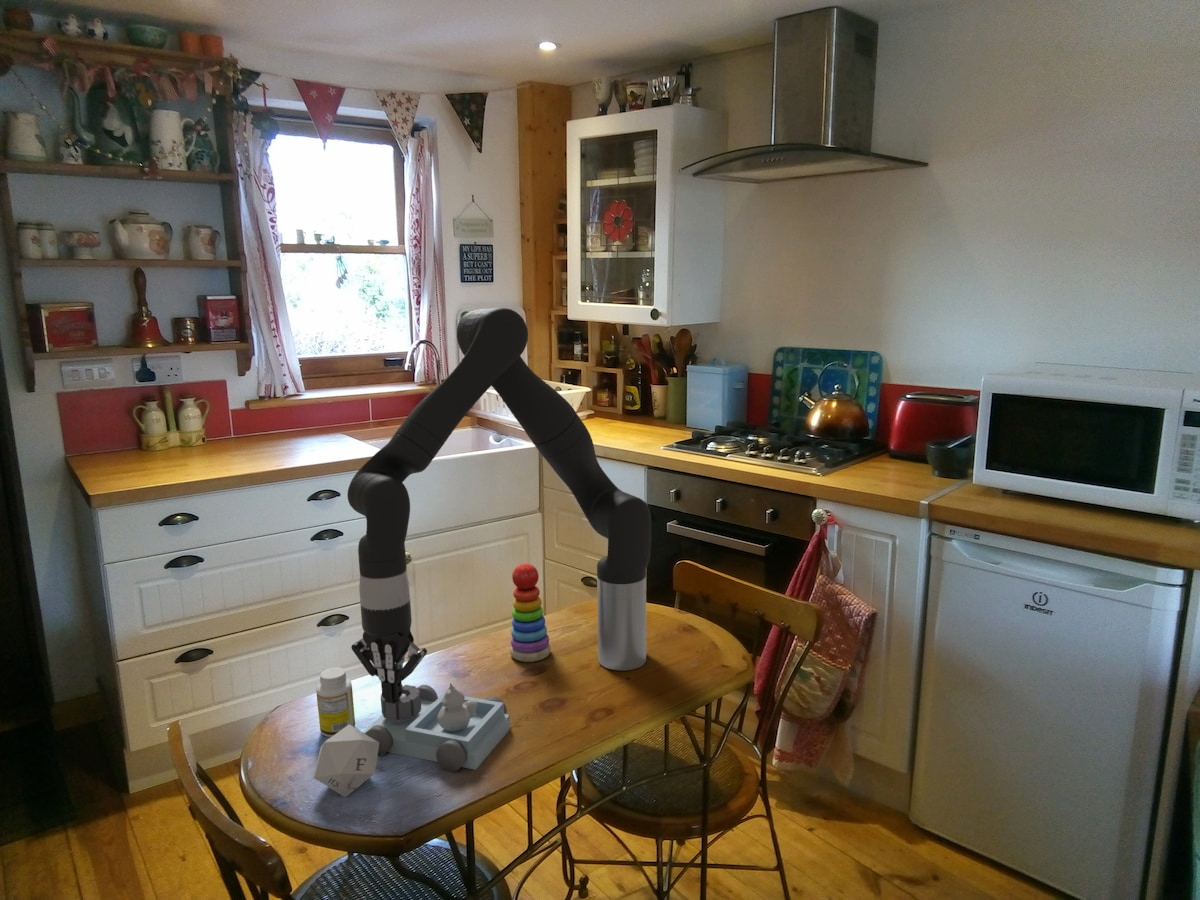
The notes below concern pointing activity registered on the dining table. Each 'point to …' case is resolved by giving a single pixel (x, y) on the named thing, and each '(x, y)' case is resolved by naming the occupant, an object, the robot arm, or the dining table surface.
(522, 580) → the stacking toy
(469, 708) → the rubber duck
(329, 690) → the supplement bottle
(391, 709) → the spare wheel
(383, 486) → the robot arm
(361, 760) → the die
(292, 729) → the dining table surface
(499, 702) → the chassis
